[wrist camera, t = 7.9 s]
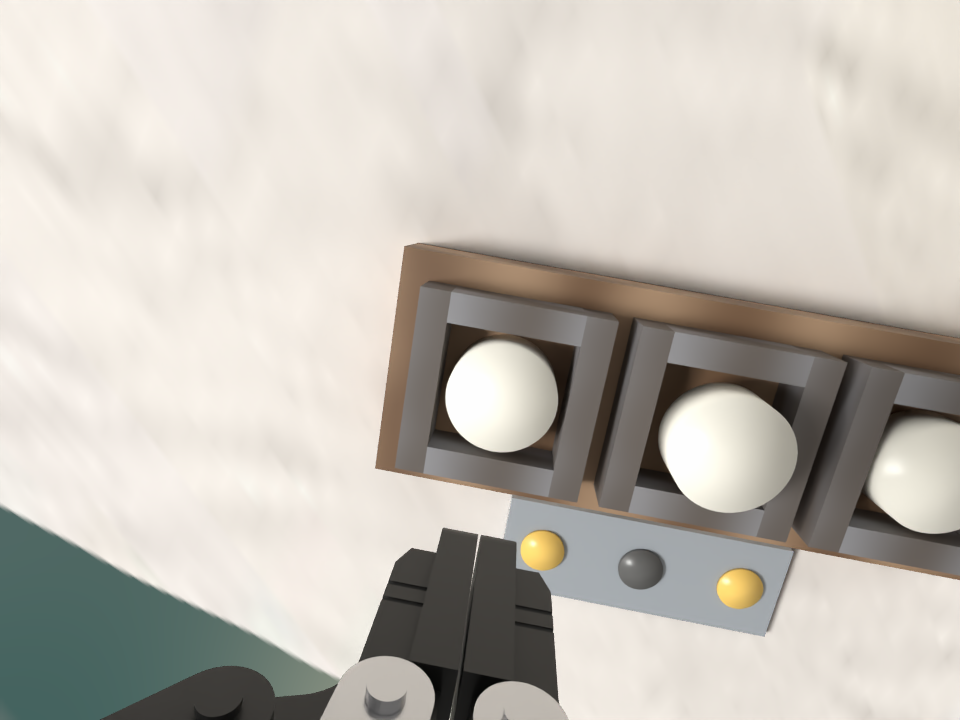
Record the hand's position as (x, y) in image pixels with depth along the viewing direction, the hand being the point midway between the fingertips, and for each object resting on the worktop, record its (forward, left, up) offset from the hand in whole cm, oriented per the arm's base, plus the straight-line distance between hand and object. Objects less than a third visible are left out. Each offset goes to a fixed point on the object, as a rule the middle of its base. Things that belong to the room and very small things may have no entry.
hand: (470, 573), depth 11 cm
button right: (+17, 0, -13) cm, 22 cm away
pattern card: (+9, -9, -17) cm, 21 cm away
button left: (0, 0, -13) cm, 13 cm away
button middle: (+9, 0, -12) cm, 14 cm away
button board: (+9, 0, -17) cm, 19 cm away
